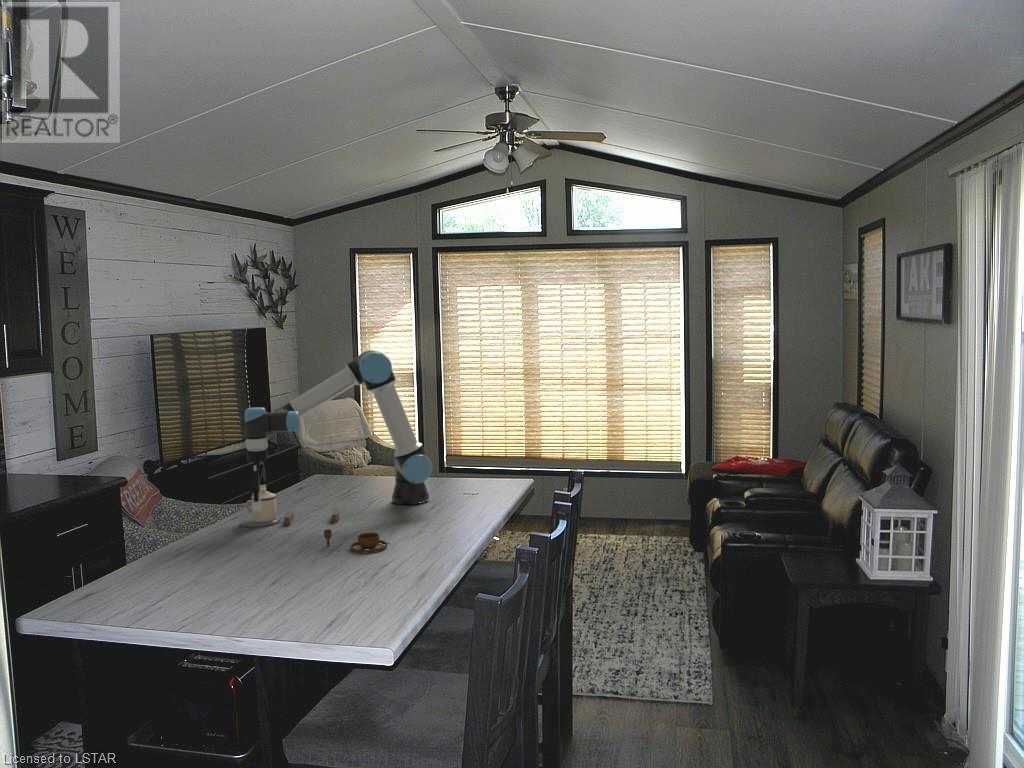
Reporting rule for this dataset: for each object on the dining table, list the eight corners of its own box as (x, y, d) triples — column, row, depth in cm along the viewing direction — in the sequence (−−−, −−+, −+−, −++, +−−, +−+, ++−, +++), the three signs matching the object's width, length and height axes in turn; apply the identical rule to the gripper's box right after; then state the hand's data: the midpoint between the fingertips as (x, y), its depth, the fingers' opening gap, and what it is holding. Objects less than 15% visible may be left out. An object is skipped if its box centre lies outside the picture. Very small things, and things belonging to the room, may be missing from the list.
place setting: (357, 559, 262) (356, 541, 262) (321, 548, 276) (320, 531, 275) (400, 547, 275) (400, 529, 274) (363, 537, 288) (363, 520, 288)
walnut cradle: (339, 516, 317) (338, 508, 317) (337, 522, 307) (337, 514, 307) (287, 519, 315) (287, 511, 314) (284, 525, 305) (284, 517, 304)
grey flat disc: (282, 517, 318) (282, 514, 318) (277, 526, 304) (277, 523, 304) (244, 519, 316) (244, 516, 316) (237, 528, 302) (237, 525, 302)
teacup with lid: (281, 517, 314) (280, 486, 313) (269, 523, 305) (268, 491, 304) (253, 516, 316) (251, 485, 315) (240, 522, 308) (238, 491, 307)
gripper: (251, 444, 320) (254, 499, 321) (240, 455, 295) (243, 514, 297) (272, 443, 321) (274, 498, 323) (262, 454, 296) (265, 513, 298)
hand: (260, 506), depth 310 cm, fingers open, 13 cm apart
